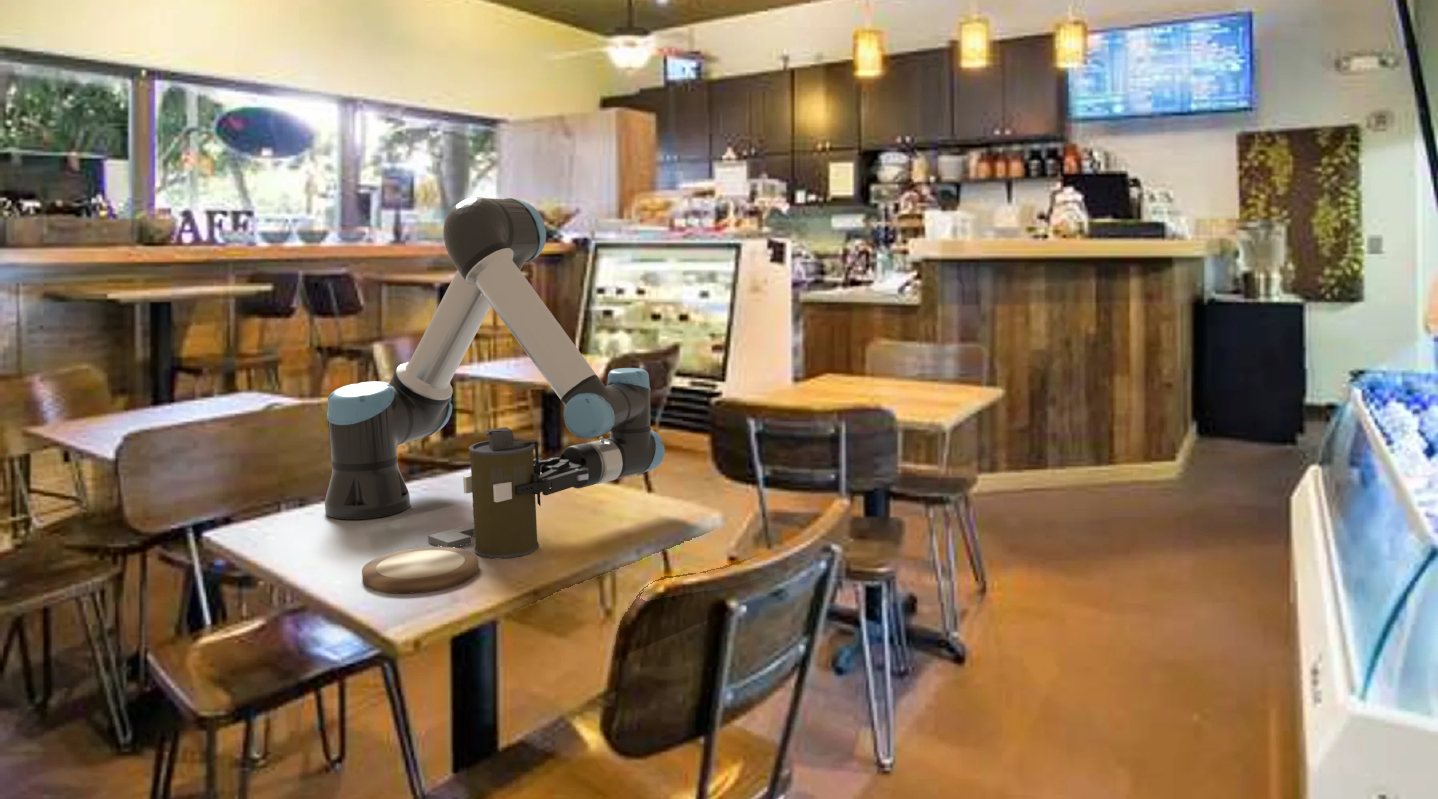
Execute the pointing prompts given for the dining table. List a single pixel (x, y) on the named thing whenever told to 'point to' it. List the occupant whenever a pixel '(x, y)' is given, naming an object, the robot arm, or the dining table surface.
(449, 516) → the dining table surface
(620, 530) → the dining table surface
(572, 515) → the dining table surface
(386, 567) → the beige plate
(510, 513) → the canister
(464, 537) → the notched board
